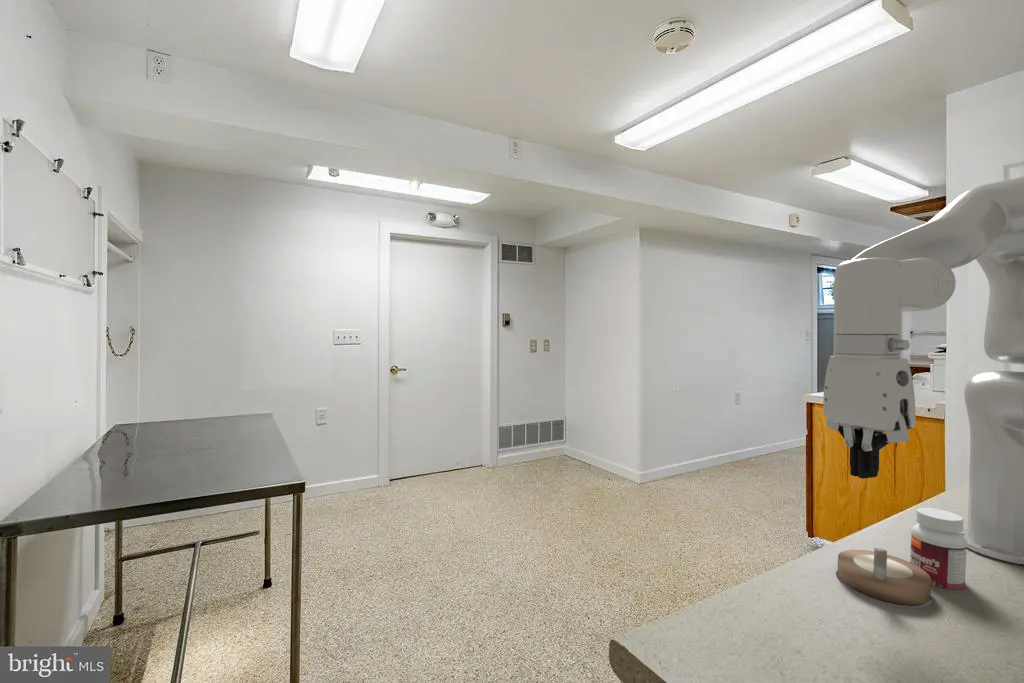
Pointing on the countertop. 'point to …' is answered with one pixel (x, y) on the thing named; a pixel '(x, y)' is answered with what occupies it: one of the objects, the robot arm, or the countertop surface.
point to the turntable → (884, 576)
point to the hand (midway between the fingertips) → (863, 475)
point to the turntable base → (883, 600)
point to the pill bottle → (940, 547)
